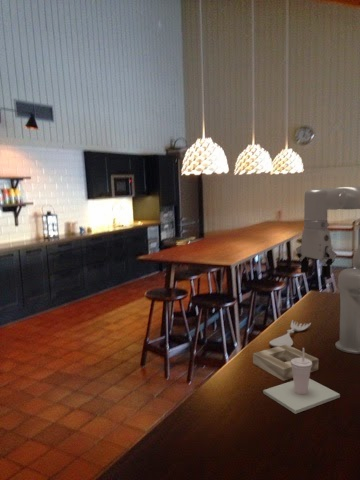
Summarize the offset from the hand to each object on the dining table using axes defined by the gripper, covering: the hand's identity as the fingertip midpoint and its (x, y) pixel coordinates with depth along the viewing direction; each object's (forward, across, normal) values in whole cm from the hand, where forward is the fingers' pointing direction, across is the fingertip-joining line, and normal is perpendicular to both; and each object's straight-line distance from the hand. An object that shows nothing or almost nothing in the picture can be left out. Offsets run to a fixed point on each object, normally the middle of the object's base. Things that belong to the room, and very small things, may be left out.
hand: (315, 274), depth 144 cm
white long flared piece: (+34, +25, -12) cm, 44 cm away
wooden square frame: (+33, +5, +9) cm, 35 cm away
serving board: (+33, -13, +19) cm, 40 cm away
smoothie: (+32, -13, +19) cm, 40 cm away
